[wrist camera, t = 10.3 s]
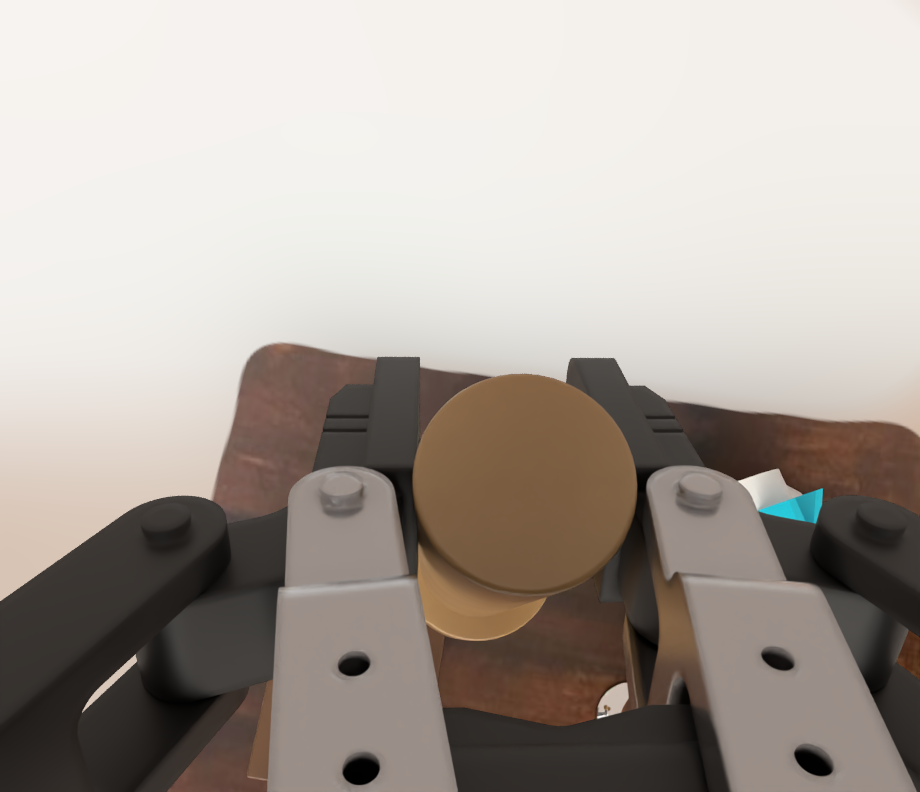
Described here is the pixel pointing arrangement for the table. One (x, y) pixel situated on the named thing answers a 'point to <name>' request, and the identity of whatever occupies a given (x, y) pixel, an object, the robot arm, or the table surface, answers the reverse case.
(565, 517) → the muddler
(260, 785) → the table surface
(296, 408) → the table surface
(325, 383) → the table surface
